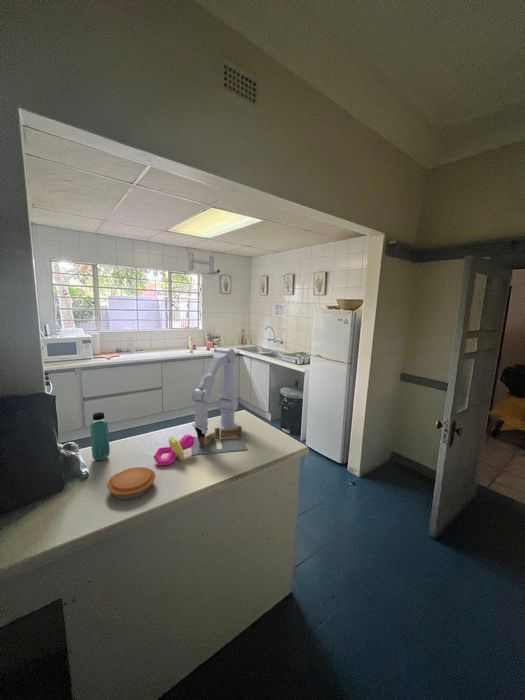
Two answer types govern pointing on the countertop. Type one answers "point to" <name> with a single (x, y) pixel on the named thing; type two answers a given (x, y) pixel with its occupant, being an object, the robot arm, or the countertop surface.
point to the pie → (131, 482)
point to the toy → (174, 449)
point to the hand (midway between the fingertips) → (201, 441)
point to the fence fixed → (228, 432)
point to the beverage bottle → (99, 437)
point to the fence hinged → (206, 439)
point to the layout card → (219, 445)
